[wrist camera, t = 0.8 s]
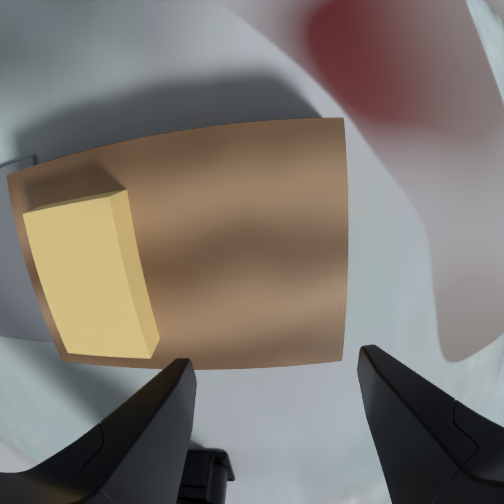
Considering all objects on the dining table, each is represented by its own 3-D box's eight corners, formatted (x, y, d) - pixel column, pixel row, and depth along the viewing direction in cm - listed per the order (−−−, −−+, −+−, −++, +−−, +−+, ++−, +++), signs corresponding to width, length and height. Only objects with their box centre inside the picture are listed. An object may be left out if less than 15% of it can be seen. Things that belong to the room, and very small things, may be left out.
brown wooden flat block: (330, 326, 22) (341, 360, 18) (84, 333, 23) (62, 361, 19) (326, 122, 17) (343, 117, 13) (41, 167, 18) (6, 175, 15)
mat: (83, 342, 23) (81, 345, 23) (-2, 333, 24) (-4, 335, 24) (35, 155, 18) (31, 156, 18) (-45, 188, 19) (-48, 189, 18)
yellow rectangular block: (160, 338, 18) (150, 358, 16) (81, 335, 18) (67, 353, 16) (126, 189, 15) (109, 196, 13) (43, 205, 15) (22, 213, 13)
